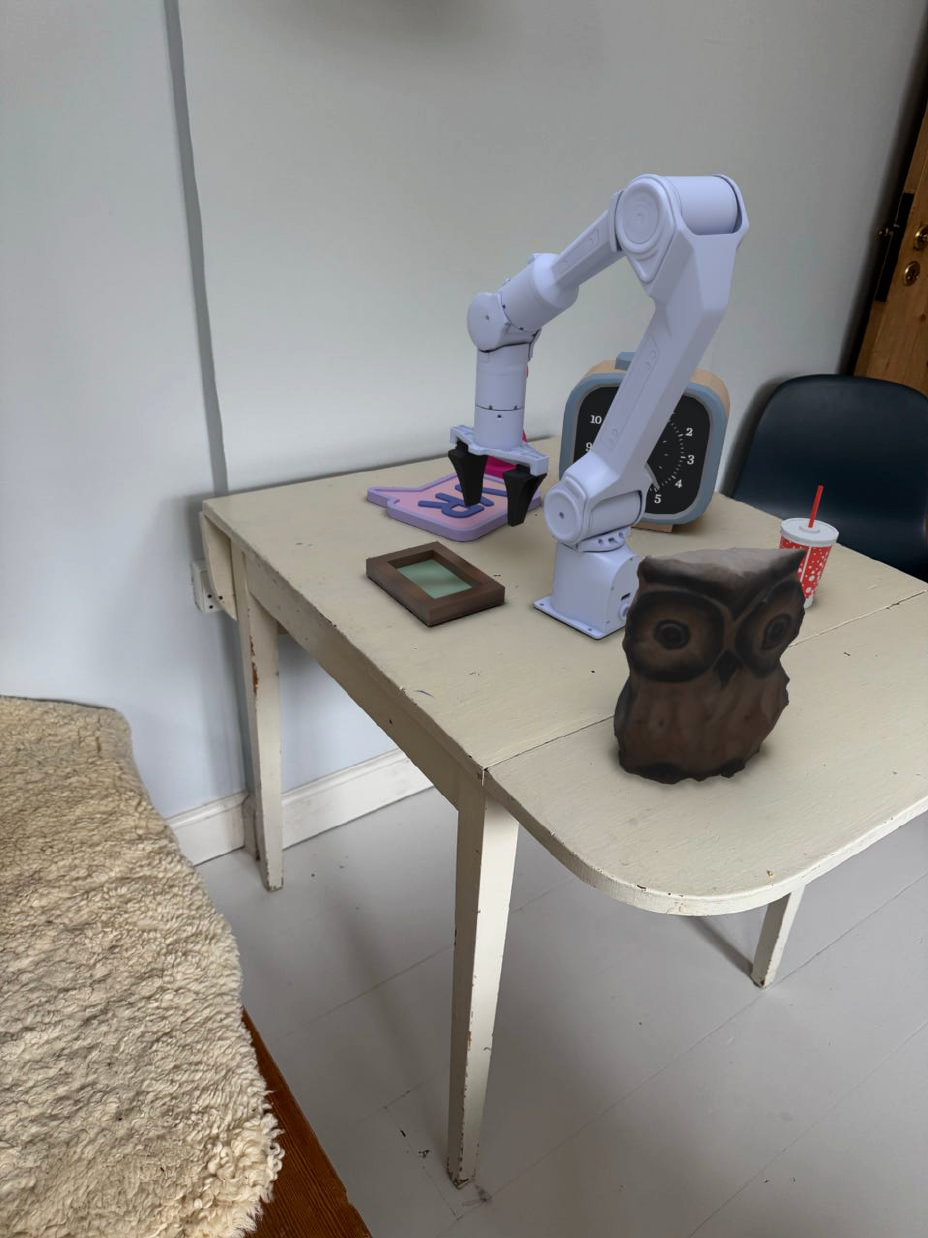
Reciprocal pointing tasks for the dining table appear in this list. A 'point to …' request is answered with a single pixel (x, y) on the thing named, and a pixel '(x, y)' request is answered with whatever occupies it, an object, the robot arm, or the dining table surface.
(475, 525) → the icon
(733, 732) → the owl
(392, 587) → the frame
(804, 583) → the beverage cup
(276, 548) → the dining table surface
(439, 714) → the dining table surface
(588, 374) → the alarm clock
